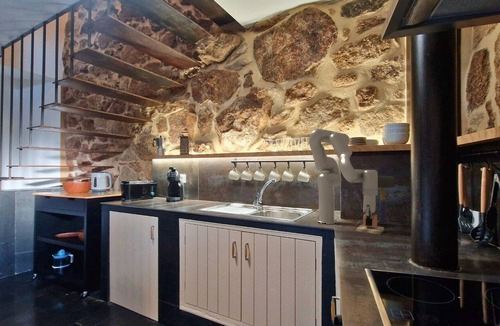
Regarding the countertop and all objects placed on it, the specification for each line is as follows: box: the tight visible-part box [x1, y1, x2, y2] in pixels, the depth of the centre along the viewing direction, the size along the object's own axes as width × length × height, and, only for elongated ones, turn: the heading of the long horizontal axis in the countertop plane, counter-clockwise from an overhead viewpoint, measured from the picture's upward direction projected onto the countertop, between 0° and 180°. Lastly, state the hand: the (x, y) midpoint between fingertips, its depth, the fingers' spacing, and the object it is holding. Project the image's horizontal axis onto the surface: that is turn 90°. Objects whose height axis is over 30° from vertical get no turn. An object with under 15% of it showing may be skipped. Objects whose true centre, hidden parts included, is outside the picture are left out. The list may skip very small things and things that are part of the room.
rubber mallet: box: [378, 175, 396, 225], centre depth 161 cm, size 12×8×30 cm, turn 70°
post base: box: [355, 224, 385, 235], centre depth 144 cm, size 12×12×6 cm
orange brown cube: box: [362, 213, 378, 227], centre depth 144 cm, size 6×6×6 cm
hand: (370, 224), depth 144 cm, fingers closed on orange brown cube, 5 cm apart
